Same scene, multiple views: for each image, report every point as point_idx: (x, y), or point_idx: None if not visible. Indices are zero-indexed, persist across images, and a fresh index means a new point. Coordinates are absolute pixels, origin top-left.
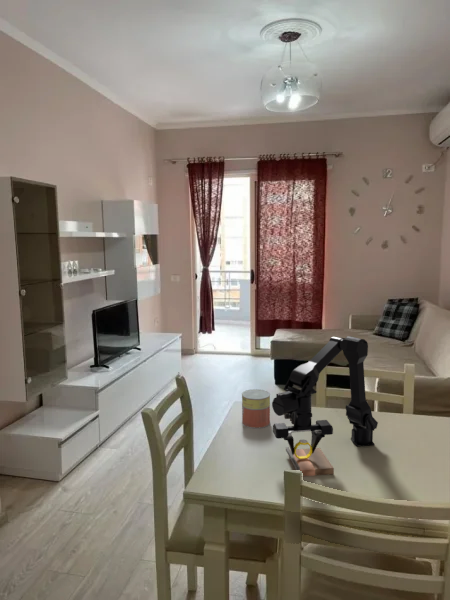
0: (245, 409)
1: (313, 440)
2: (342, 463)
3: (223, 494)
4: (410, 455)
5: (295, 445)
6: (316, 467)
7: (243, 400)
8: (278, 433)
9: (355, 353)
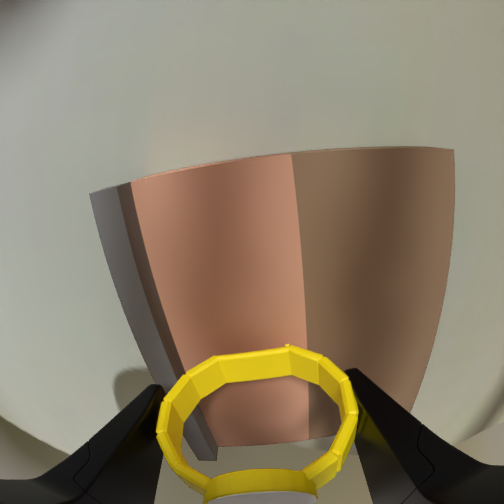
0: None
1: (385, 502)
2: (486, 292)
3: (21, 427)
4: None
5: (167, 459)
6: (323, 426)
7: None
8: None
9: None
